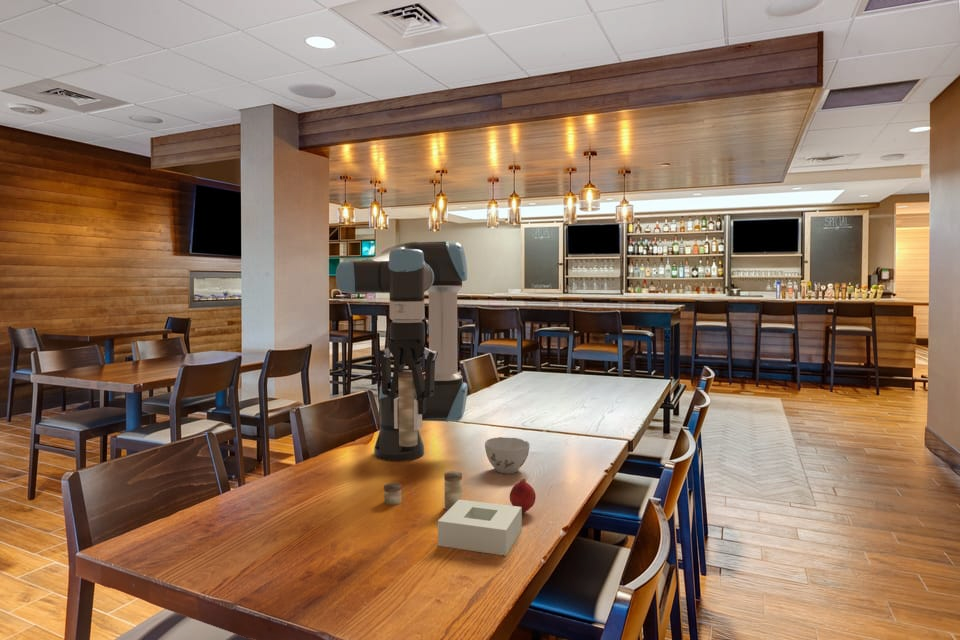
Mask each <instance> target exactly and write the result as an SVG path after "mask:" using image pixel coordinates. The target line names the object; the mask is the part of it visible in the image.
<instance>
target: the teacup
mask: <svg viewBox="0 0 960 640" xmlns="http://www.w3.org/2000/svg"><path fill="white" fill-rule="evenodd" d="M484 448H485V454H486V457H487V459H488V461H489V463H490V464H491V466H492V467H493V468H494V469H495V470H496V472H498V473H500V474H505V475H508V474H509V475H510V474H511V473H512V474H515V472H516V473H517V471H518V470H519V469H521V468H522V467H523V466H524V464H525V463H526V460H527V459H528V457H529V451H530V442H529V441H528V440H526V441H525V440H524V439H522V438H519V437H502V436H499V437H492V438H488V439H486V440H485V442H484ZM512 474H511V475H512Z"/></svg>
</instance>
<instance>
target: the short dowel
mask: <svg viewBox="0 0 960 640" xmlns="http://www.w3.org/2000/svg"><path fill="white" fill-rule="evenodd" d="M383 490H384V491H383V500H384V501H383V502H384V504H385V505H386V504H387V506H397V504H398V505H400V504H401V503H402V484H401V483H398V482H390V483H389V482H388V483H385V484H384V485H383Z"/></svg>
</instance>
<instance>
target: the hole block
mask: <svg viewBox="0 0 960 640" xmlns="http://www.w3.org/2000/svg"><path fill="white" fill-rule="evenodd" d="M522 515H523V513H522V507H518V506H512V505H510V504H509V505H508V504H507V505H506V504H500V503H491V502H482V501H474V500H467V499H462V500H460V499H459V500H458V501H457V502H456V503H455V504H454V505H453V506H452V507H451V508H450V509H449V510H448V511H447V510H446V512H445V513H444V514H443V515H442V516H441V517H440V518H439V519H438V520H437V546H439V547H445V548H449V549H451V548H452V549H458V550H465V551H472V552H479V553H485V554H491V555H497V556H503V555H504V556H506V557H507V555H508V554H509V552H510V551H511V549H512V547H513V545H514V544H515V542H516V540H517V539H518V537H519V535H520V534H521V532H522V527H523V526H522V521H523V520H522V519H523V518H522V517H523V516H522Z"/></svg>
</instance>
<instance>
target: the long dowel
mask: <svg viewBox="0 0 960 640" xmlns="http://www.w3.org/2000/svg"><path fill="white" fill-rule="evenodd" d="M398 385H399V445H400V446H403V447H411V446H416V445H417V444H418V438H417V430H414V400H415V398H417V396H416V391H415V385H414V380H413V375H412V370H411V369H409V370H408V369H407V370H405V369H404V370H403V371H400V372H398Z"/></svg>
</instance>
